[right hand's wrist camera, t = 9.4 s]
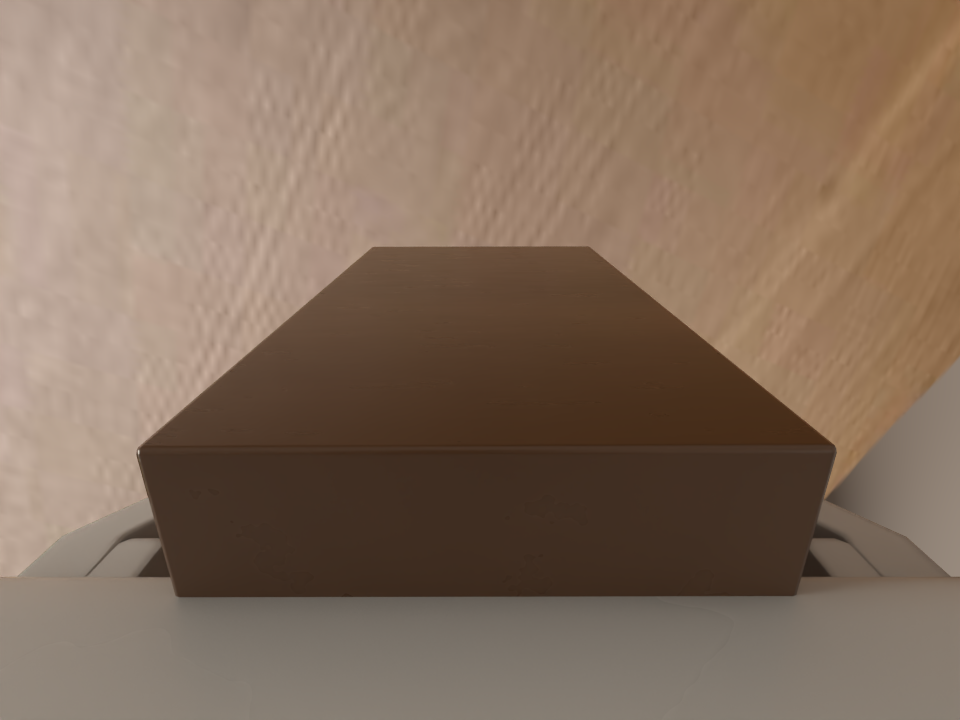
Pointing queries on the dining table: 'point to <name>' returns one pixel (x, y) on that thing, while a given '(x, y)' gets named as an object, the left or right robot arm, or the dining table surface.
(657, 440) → the box
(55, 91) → the dining table surface
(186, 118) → the dining table surface
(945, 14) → the dining table surface
